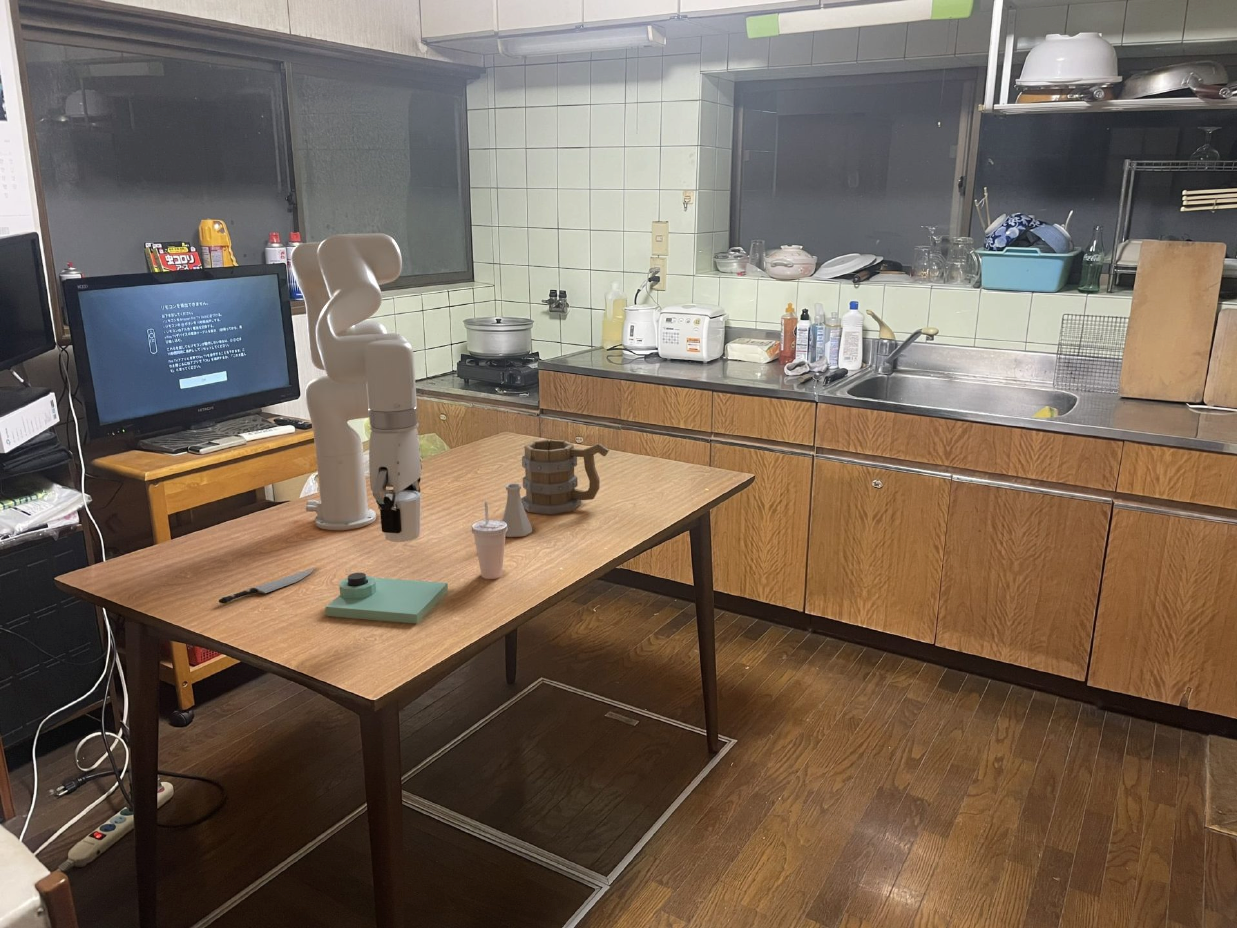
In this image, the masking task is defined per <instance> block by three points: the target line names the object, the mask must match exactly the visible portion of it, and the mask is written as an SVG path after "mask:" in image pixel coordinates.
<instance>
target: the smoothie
mask: <svg viewBox="0 0 1237 928" xmlns="http://www.w3.org/2000/svg"><path fill="white" fill-rule="evenodd" d="M484 518H485V519H484V520H479V521H476V522H474V523H473V524H472V525H471V533H472V534H473V537H474V542H475V546H476V547H475V548H476V554H477V560H478V564H479V570H480V576H481V578H483V579H485V580H495V579H499V578H501V577H502V576H503V568H504V567H503V566H504V556H505V545H506V544H505V542H506V536H505V532H506V531H507V530H508V529H507V524H506V523H505V522H503V521H501V519H490V518H489V501H487V500H485V501H484Z"/></svg>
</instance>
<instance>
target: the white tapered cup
mask: <svg viewBox="0 0 1237 928" xmlns="http://www.w3.org/2000/svg"><path fill="white" fill-rule="evenodd" d="M392 496H393V495H392V494H386V497H389V498H390V500H391V501H392ZM397 509H400V516H401V529H402V531H401V532H400V533H384V537H385V539H386V541H389V542H394V543H401V542H402V543H405V542H410V541H413V540H417V539H418V538H419V537H420V535H421V524H422V523H421V519H422V494H421V492H420V493H419V492H416V491H411V490H402V491H400V492H399V498H398V506H397Z"/></svg>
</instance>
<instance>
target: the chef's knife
mask: <svg viewBox="0 0 1237 928" xmlns="http://www.w3.org/2000/svg"><path fill="white" fill-rule="evenodd" d="M313 570H314V568H311V569H307V570H304V571H303V570H302V571H300V572H297V573H294V574H291V575H288V576H285V577H281V578H279V579H276V580H273V581H270V582H267V583H264V584H260V585H258V586H255V587H251V588H248V589H245V590H241V591H239V592H236V593H234V594H231V595H227V596H223V597H221V598H220V599H218V603H220V604H227V603H229V602H231V601H233V600H236V599H239V598H242V597H245V596H249V595H253V594H256V593H260V594H267V593H270V592H272V591H276V590H278V589H281V588H284V587H286V586H289V585H292V584H295V583H297V582H299V581H301V580H303V579H304V578H306V577H307V576H309V575H310V574H311V573H312V572H313Z"/></svg>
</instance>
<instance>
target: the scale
mask: <svg viewBox="0 0 1237 928" xmlns="http://www.w3.org/2000/svg"><path fill="white" fill-rule="evenodd" d="M366 581H367V584H365V585H362V586H356V587H353V586H348V577H347V578H344V579H342V580H341V581H339V583H338V586H339V595H338V596H337V597H335V598H334V599H333V600H332V601H331V602H329V603H328V604H327V605H326V606H325V614H326V615H325V616H326V617H334V618H335V617H336V618H337V617H338V618H348V619H359V620H371V621H383V622H393V623H404V624H405V623H407V624H416V625H417V624H419V623H420V622H421V621H422V620H423V619H424V618H425V617H426V616H427V615H428V613H429V612H431V610H432V609H434V607H435V606H436V605H437V604H438V603H439V602H440V601H441V600H442V599H443V598H444V597H445V596H446V595H447V593H448V592H449V586H448V582H440V581H439V582H438V581H424V580H415V579H414V580H411V579H400V578H386V577H373V576H370V575H366Z"/></svg>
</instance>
